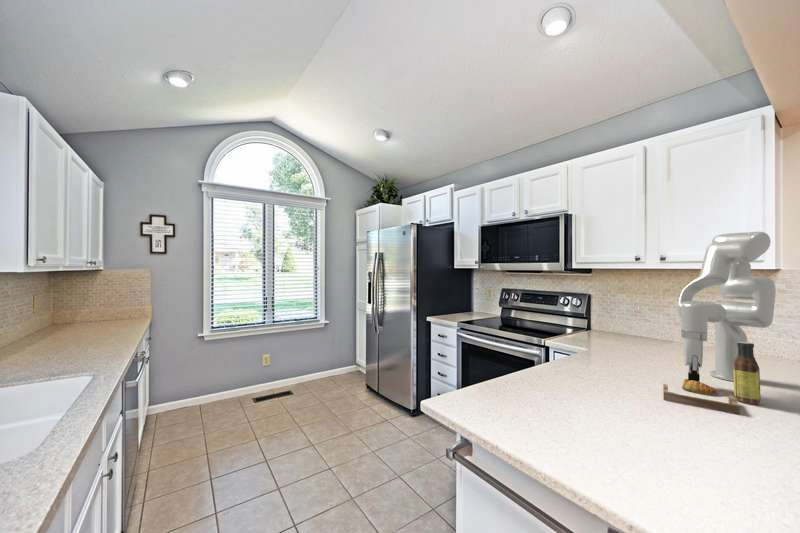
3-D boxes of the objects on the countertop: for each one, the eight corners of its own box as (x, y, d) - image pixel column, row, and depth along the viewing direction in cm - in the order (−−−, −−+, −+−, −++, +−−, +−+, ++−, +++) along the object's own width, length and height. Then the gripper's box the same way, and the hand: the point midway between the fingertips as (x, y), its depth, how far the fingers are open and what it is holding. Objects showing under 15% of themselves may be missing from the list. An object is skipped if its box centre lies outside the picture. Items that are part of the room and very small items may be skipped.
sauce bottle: (766, 406, 110) (766, 345, 110) (743, 404, 111) (743, 344, 112) (749, 398, 117) (749, 341, 117) (728, 397, 118) (728, 340, 118)
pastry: (718, 393, 122) (718, 383, 122) (714, 398, 117) (714, 387, 117) (684, 386, 129) (684, 376, 129) (680, 390, 125) (680, 380, 125)
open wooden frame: (663, 390, 123) (663, 383, 123) (733, 403, 112) (733, 396, 112) (663, 399, 114) (663, 392, 115) (739, 414, 103) (739, 406, 103)
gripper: (680, 331, 137) (680, 377, 136) (681, 337, 125) (681, 386, 125) (705, 333, 132) (705, 381, 132) (709, 339, 120) (709, 391, 120)
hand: (693, 383), depth 128 cm, fingers closed
